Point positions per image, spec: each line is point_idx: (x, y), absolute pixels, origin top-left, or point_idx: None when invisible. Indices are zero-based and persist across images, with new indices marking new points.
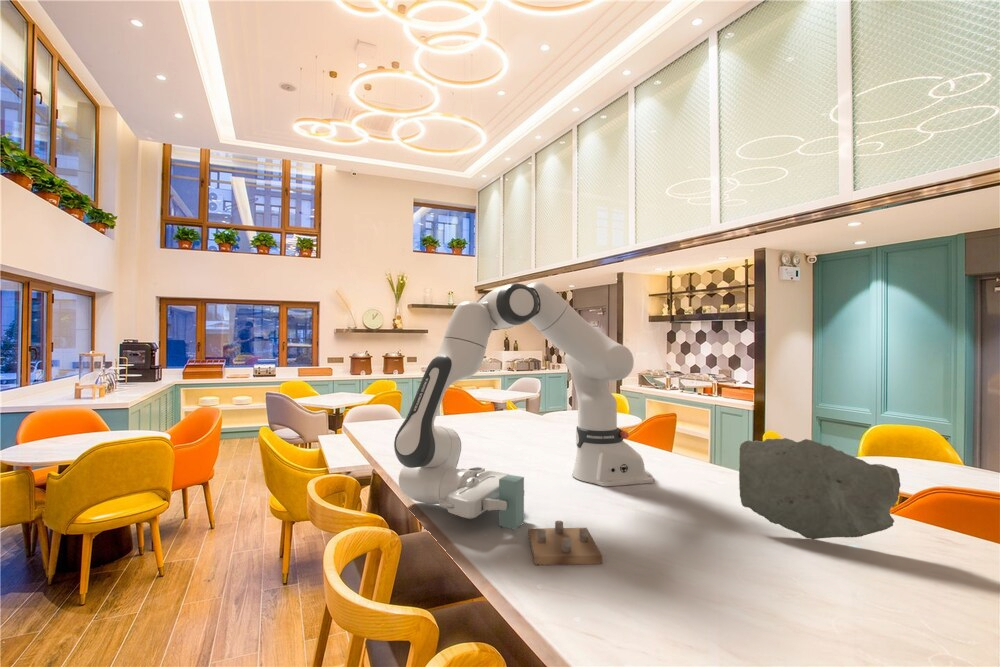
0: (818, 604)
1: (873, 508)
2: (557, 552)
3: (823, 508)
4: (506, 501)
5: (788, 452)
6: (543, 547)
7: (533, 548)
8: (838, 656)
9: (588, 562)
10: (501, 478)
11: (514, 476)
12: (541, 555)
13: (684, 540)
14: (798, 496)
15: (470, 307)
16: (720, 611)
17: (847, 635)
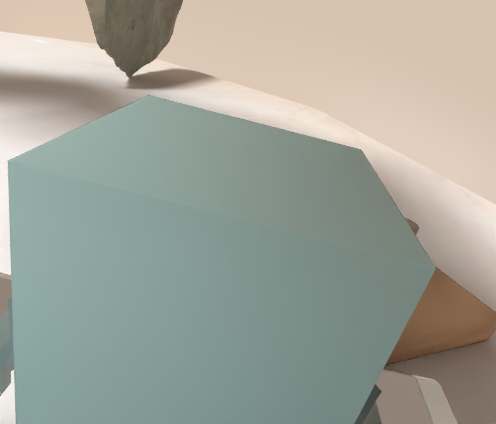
0: (298, 122)
1: (172, 21)
2: None
3: (146, 30)
4: (396, 372)
5: None
6: (425, 298)
7: (461, 324)
8: (378, 142)
9: None
10: (350, 239)
11: (149, 127)
12: (476, 303)
13: None
14: (138, 17)
15: None
16: (372, 164)
17: (340, 130)
